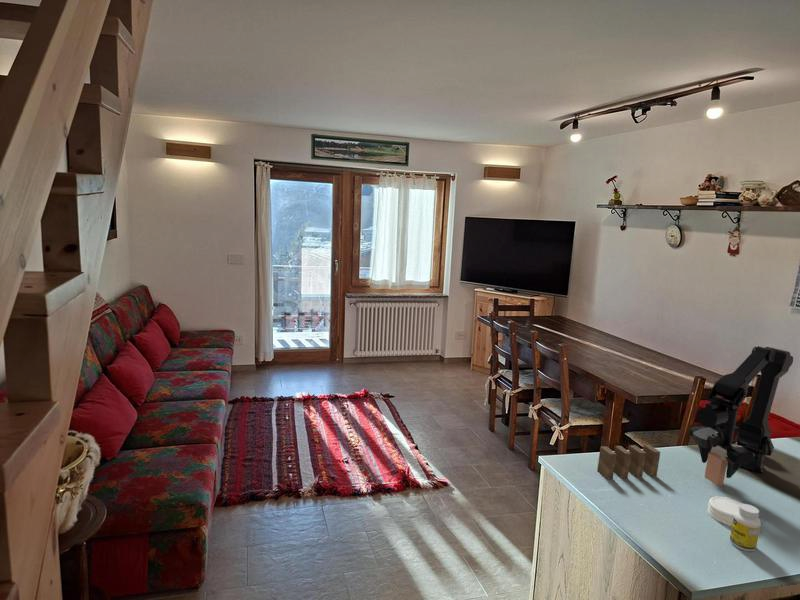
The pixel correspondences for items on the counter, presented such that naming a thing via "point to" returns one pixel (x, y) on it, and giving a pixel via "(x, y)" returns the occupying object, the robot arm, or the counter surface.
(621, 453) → the walnut domino
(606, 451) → the walnut domino
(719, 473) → the terracotta domino
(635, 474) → the walnut domino
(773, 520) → the counter surface
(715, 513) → the white rounded piece
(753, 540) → the supplement bottle
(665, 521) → the counter surface
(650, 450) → the walnut domino
